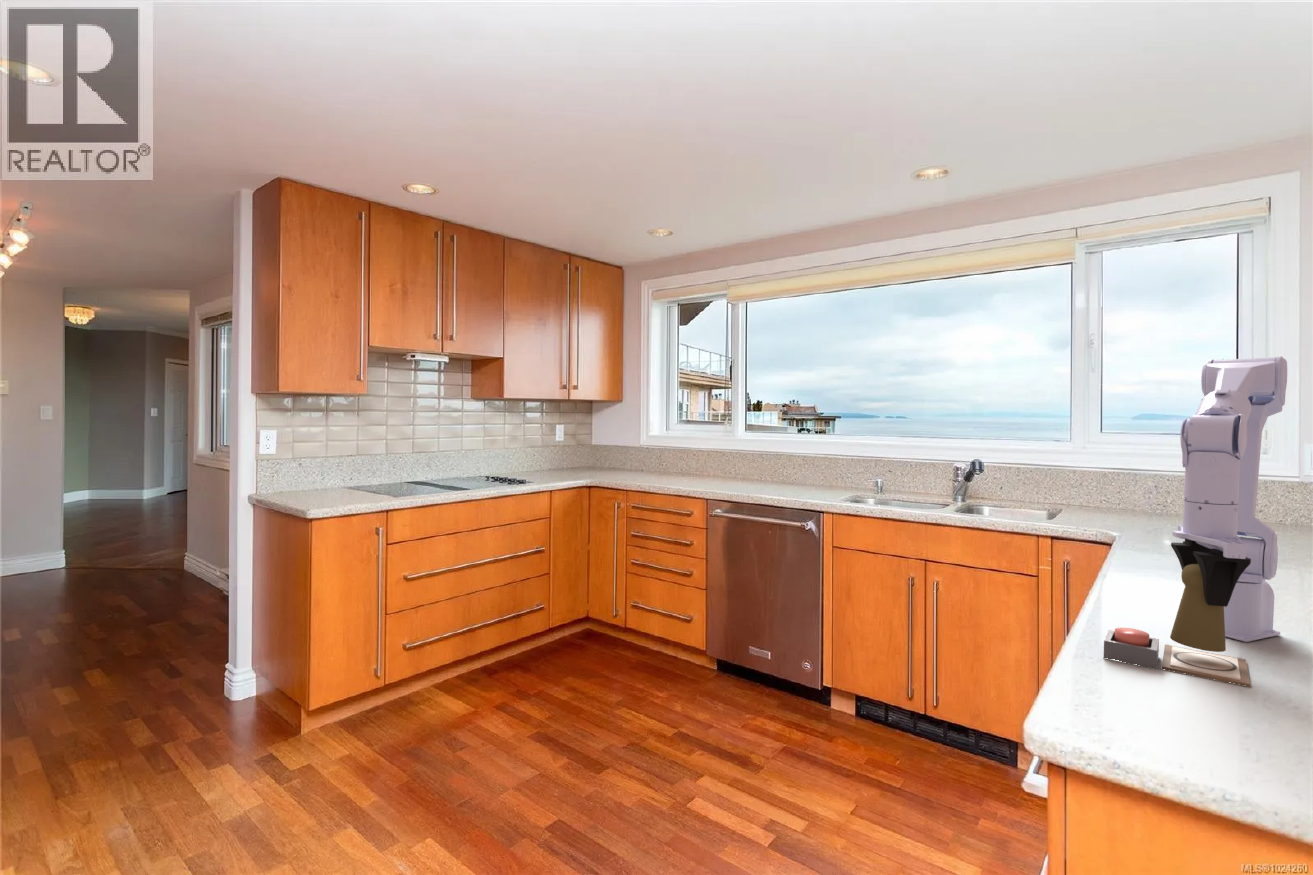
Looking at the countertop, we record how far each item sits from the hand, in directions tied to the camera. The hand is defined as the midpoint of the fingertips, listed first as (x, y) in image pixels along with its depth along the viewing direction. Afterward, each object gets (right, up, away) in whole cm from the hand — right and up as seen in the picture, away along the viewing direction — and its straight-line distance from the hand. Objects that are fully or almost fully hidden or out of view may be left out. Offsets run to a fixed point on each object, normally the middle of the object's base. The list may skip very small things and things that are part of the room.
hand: (1206, 599), depth 90 cm
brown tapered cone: (-1, -7, +1) cm, 7 cm away
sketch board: (0, -9, 0) cm, 9 cm away
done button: (-8, -7, +3) cm, 11 cm away
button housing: (-8, -9, +3) cm, 13 cm away
